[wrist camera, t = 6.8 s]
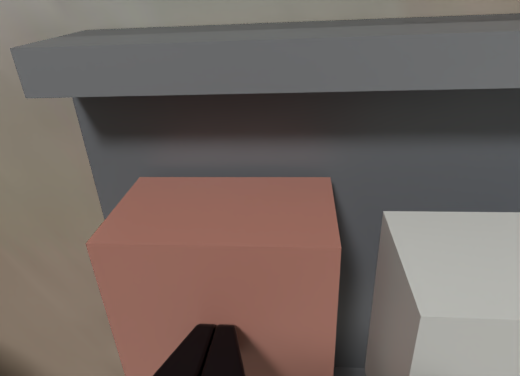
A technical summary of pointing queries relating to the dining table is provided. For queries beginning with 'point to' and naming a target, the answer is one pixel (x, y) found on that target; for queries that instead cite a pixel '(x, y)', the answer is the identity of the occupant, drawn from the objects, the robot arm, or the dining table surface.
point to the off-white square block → (446, 295)
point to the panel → (304, 119)
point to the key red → (223, 270)
